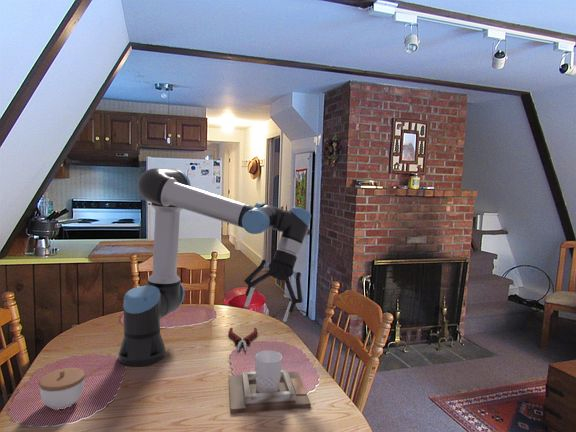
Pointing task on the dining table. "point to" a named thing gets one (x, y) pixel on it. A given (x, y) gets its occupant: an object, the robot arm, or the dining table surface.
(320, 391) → the dining table surface
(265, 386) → the white cup
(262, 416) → the dining table surface
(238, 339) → the pliers
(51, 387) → the lidded jar
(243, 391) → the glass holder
